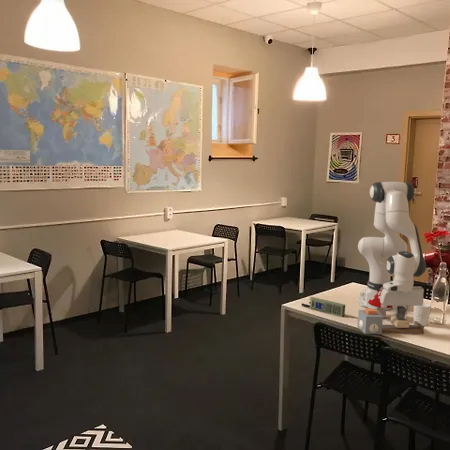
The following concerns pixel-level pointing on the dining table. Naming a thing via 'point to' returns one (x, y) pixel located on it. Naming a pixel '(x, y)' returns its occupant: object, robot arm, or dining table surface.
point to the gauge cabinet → (370, 323)
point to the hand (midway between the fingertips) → (400, 314)
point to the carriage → (400, 318)
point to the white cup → (422, 314)
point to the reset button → (370, 311)
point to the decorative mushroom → (379, 304)
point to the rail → (404, 329)
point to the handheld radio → (326, 306)
